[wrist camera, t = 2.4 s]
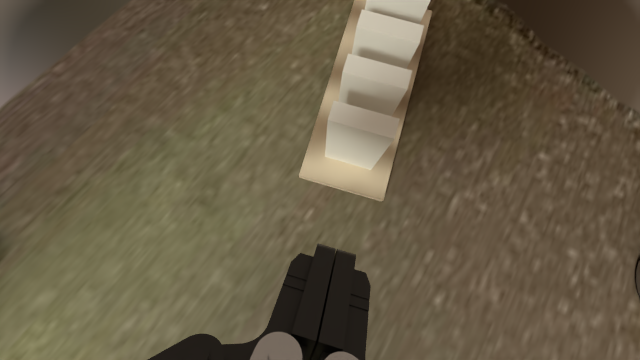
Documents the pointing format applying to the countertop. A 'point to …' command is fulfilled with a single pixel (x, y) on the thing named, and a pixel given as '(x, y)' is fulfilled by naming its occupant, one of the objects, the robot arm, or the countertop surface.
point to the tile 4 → (399, 8)
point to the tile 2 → (373, 84)
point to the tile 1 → (358, 135)
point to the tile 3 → (386, 39)
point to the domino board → (315, 160)
